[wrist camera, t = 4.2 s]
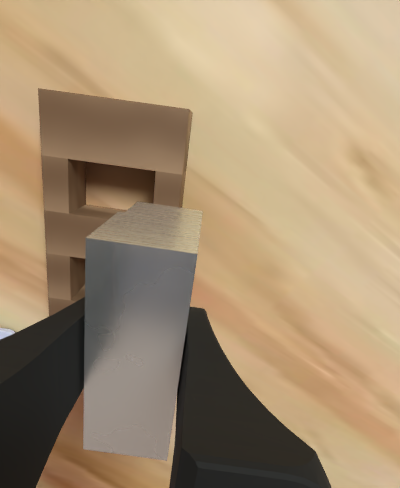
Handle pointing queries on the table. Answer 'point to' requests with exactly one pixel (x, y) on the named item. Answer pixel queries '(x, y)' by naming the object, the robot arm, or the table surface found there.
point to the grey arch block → (136, 326)
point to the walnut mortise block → (105, 152)
